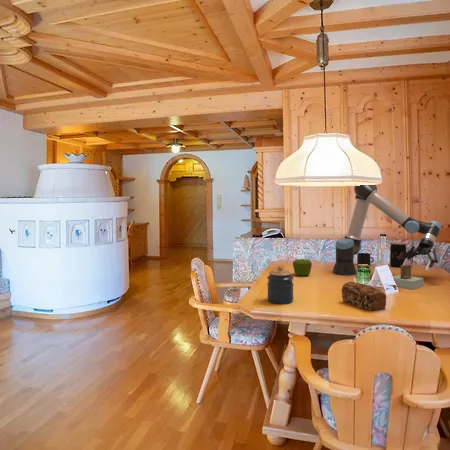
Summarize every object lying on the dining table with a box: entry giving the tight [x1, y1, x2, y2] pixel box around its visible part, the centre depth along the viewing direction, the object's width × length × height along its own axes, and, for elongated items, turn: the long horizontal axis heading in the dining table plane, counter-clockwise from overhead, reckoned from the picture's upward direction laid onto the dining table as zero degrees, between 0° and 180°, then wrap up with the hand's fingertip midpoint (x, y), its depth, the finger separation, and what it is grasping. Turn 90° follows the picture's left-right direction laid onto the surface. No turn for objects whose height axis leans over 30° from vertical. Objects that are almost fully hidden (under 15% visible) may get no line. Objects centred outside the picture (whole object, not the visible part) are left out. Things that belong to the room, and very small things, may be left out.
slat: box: [400, 264, 412, 279], centre depth 207 cm, size 3×6×12 cm, turn 126°
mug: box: [356, 252, 375, 266], centre depth 273 cm, size 9×12×9 cm
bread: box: [341, 281, 387, 311], centre depth 169 cm, size 19×11×10 cm, turn 23°
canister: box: [266, 265, 294, 305], centre depth 178 cm, size 13×13×18 cm
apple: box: [292, 258, 313, 277], centre depth 240 cm, size 12×12×11 cm
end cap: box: [393, 274, 425, 290], centre depth 207 cm, size 14×13×4 cm
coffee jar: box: [389, 241, 407, 269], centre depth 267 cm, size 11×11×18 cm
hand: (414, 269), depth 213 cm, fingers open, 13 cm apart
